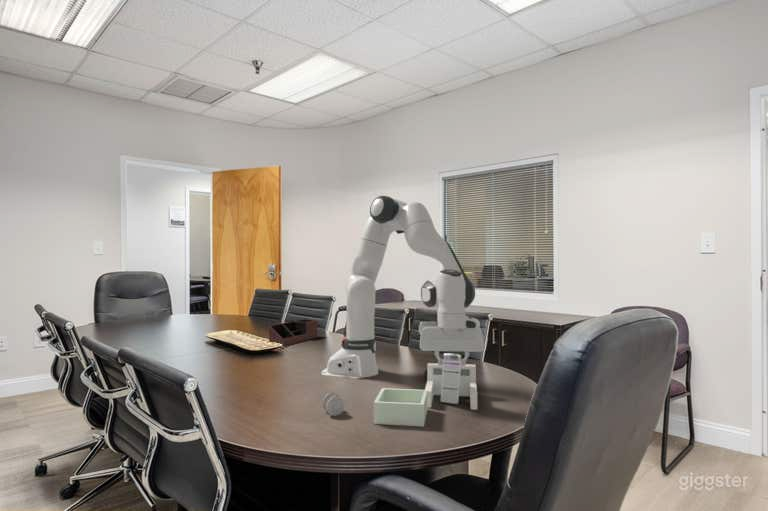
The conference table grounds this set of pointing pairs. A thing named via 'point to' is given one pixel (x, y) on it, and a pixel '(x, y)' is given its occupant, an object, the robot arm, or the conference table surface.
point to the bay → (466, 383)
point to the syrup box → (451, 378)
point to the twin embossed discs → (333, 404)
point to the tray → (400, 407)
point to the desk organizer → (293, 331)
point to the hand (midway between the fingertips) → (452, 365)
